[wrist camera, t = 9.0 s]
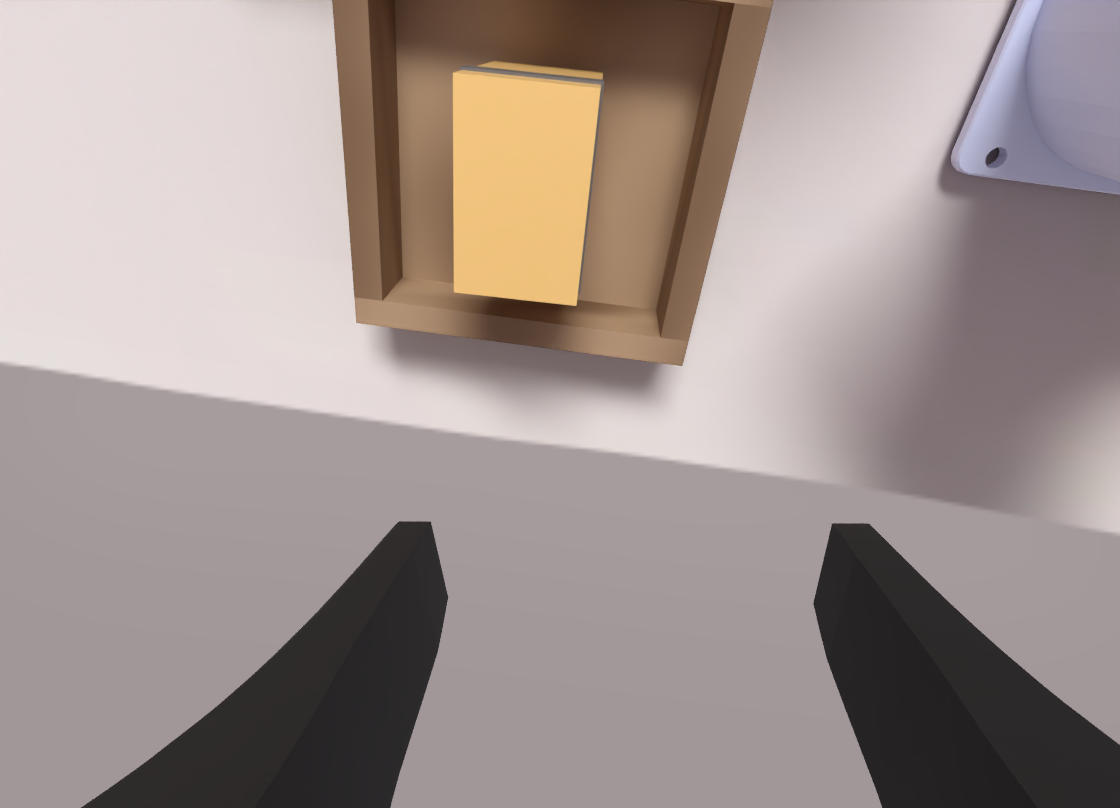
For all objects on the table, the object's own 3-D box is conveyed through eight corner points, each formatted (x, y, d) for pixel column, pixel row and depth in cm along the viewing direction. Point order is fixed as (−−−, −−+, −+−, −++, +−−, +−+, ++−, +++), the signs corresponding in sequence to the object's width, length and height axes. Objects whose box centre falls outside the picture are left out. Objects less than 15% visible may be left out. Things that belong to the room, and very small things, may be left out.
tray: (757, -29, 15) (783, -38, 13) (674, 328, 20) (682, 366, 18) (367, -80, 15) (325, -99, 13) (384, 290, 20) (356, 322, 18)
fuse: (605, 69, 16) (603, 85, 11) (585, 242, 18) (578, 308, 14) (493, 58, 16) (450, 69, 11) (489, 231, 18) (451, 294, 14)
